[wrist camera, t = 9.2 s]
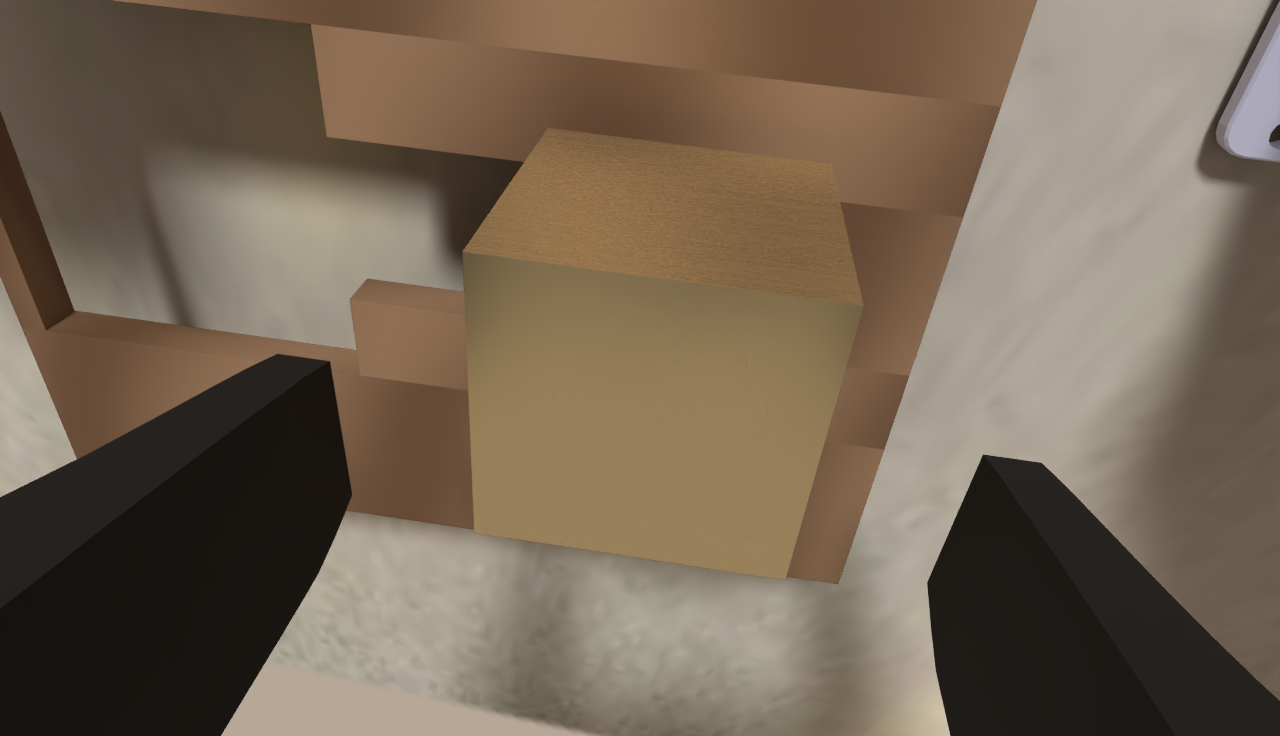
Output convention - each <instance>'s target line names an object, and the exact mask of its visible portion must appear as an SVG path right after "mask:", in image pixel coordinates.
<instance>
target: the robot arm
mask: <svg viewBox="0 0 1280 736" xmlns="http://www.w3.org/2000/svg"><path fill="white" fill-rule="evenodd" d="M1279 124H1280V1H1279V3H1278V5H1277V7H1276V9H1275V11H1274V13H1273V15H1272V17H1271V19H1270V21H1269V23H1268V25H1267V27H1266V29H1265V31H1264V33H1263V35H1262V37H1261V39H1260V41H1259V43H1258V45H1257V47H1256V49H1255V51H1254V53H1253V55H1252V57H1251V59H1250V61H1249V63H1248V65H1247V67H1246V69H1245V71H1244V73H1243V75H1242V77H1241V79H1240V81H1239V83H1238V85H1237V87H1236V89H1235V91H1234V93H1233V95H1232V97H1231V99H1230V101H1229V103H1228V105H1227V107H1226V109H1225V111H1224V113H1223V115H1222V117H1221V119H1220V121H1219V123H1218V126H1217V130H1216V138H1217V142H1218V144H1219V145H1220V146H1221V147H1222V148H1223V149H1224V150H1225V151H1227V152H1228V153H1230V154H1231V155H1234V156H1237V157H1240V158H1245V159H1253V160H1262V161H1270V162H1278V163H1280V139H1279V140H1277V141H1275V142H1269V138H1270V134H1271V132H1272V131H1273V130H1274V129H1275V128H1276V126H1278V125H1279ZM351 497H352V490H351V484H350V478H349V472H348V466H347V460H346V454H345V448H344V442H343V436H342V430H341V424H340V418H339V412H338V406H337V400H336V394H335V388H334V382H333V376H332V370H331V364H330V361H325V360H318V359H311V358H304V357H297V356H291V355H284V354H276V355H274V356H272V357H269V358H267V359H265V360H263V361H261V362H259V363H257V364H255V365H253V366H251V367H249V368H247V369H245V370H243V371H241V372H239V373H237V374H235V375H233V376H231V377H229V378H228V379H226V380H224V381H222V382H220V383H218V384H216V385H214V386H213V387H211V388H209V389H207V390H205V391H203V392H202V393H200V394H198V395H196V396H194V397H192V398H191V399H189V400H187V401H185V402H183V403H181V404H180V405H178V406H176V407H174V408H172V409H170V410H169V411H167V412H165V413H163V414H161V415H159V416H157V417H156V418H154V419H152V420H150V421H148V422H146V423H144V424H143V425H141V426H139V427H137V428H135V429H133V430H131V431H130V432H128V433H126V434H124V435H122V436H120V437H118V438H116V439H115V440H113V441H111V442H109V443H107V444H105V445H103V446H102V447H100V448H98V449H96V450H94V451H92V452H90V453H88V454H87V455H85V456H83V457H81V458H79V459H77V460H75V461H73V462H71V463H69V464H67V465H65V466H63V467H61V468H59V469H57V470H55V471H53V472H51V473H49V474H47V475H45V476H43V477H41V478H39V479H37V480H35V481H32V482H30V483H28V484H26V485H24V486H22V487H20V488H18V489H16V490H14V491H12V492H10V493H8V494H6V495H4V496H2V497H0V736H221V735H222V733H223V731H224V729H225V728H226V726H227V725H228V723H229V721H230V720H231V718H232V716H233V715H234V713H235V712H236V710H237V708H238V706H239V705H240V703H241V702H242V700H243V698H244V696H245V695H246V693H247V691H248V690H249V688H250V687H251V685H252V683H253V682H254V680H255V679H256V677H257V675H258V674H259V672H260V670H261V669H262V667H263V665H264V664H265V662H266V660H267V659H268V657H269V656H270V654H271V652H272V651H273V649H274V647H275V646H276V644H277V642H278V641H279V639H280V637H281V636H282V634H283V632H284V631H285V629H286V627H287V626H288V624H289V622H290V621H291V619H292V617H293V616H294V614H295V612H296V611H297V609H298V607H299V606H300V604H301V602H302V601H303V599H304V597H305V595H306V594H307V592H308V590H309V589H310V587H311V585H312V583H313V582H314V580H315V578H316V577H317V575H318V573H319V571H320V569H321V567H322V564H323V562H324V560H325V558H326V556H327V553H328V551H329V549H330V547H331V545H332V542H333V540H334V538H335V536H336V533H337V531H338V528H339V526H340V524H341V521H342V519H343V516H344V514H345V512H346V509H347V507H348V505H349V502H350V500H351ZM927 584H928V596H929V608H930V619H931V631H932V640H933V648H934V657H935V666H936V673H937V677H938V682H939V687H940V691H941V696H942V700H943V704H944V709H945V713H946V718H947V722H948V726H949V731H950V735H951V736H1280V701H1279V700H1278V699H1277V698H1276V697H1275V696H1274V695H1273V694H1271V693H1270V692H1269V691H1268V690H1267V689H1266V688H1265V687H1264V686H1263V685H1262V684H1261V683H1260V682H1259V681H1257V680H1256V679H1255V678H1254V677H1253V676H1252V675H1251V674H1250V673H1249V672H1248V671H1247V670H1246V669H1245V668H1244V667H1243V666H1242V665H1241V664H1240V663H1239V662H1238V661H1237V660H1236V659H1235V658H1234V657H1233V656H1232V655H1231V654H1229V653H1228V652H1227V651H1226V650H1225V649H1224V648H1223V647H1222V646H1221V645H1220V644H1219V643H1218V642H1217V641H1216V640H1215V639H1214V638H1213V637H1212V636H1211V635H1210V634H1209V633H1208V632H1207V631H1206V630H1205V629H1204V628H1203V627H1202V626H1201V625H1200V624H1199V623H1198V622H1197V621H1196V620H1195V619H1194V618H1193V617H1192V616H1191V615H1190V614H1189V613H1188V612H1187V611H1186V610H1185V609H1184V608H1183V607H1182V606H1181V605H1180V604H1179V603H1178V602H1177V601H1176V600H1175V599H1174V598H1173V597H1172V596H1171V595H1170V594H1169V593H1168V592H1167V591H1166V590H1165V589H1164V588H1163V587H1162V585H1161V584H1160V583H1159V582H1158V581H1157V580H1156V579H1155V578H1154V577H1153V576H1152V575H1151V574H1150V573H1149V572H1148V571H1147V570H1146V569H1145V568H1144V567H1143V566H1142V565H1141V564H1140V563H1139V562H1138V561H1137V560H1136V559H1135V558H1134V557H1133V555H1132V554H1131V553H1130V552H1129V551H1128V550H1127V549H1126V548H1125V547H1124V546H1123V545H1122V544H1121V543H1120V542H1119V541H1118V540H1117V539H1116V538H1115V537H1114V536H1113V535H1112V534H1111V533H1110V532H1109V530H1108V529H1107V528H1106V527H1105V526H1104V525H1103V524H1102V523H1101V522H1100V521H1099V520H1098V519H1097V518H1096V517H1095V516H1094V515H1093V514H1092V513H1091V512H1090V511H1089V510H1088V509H1087V508H1086V507H1085V506H1084V504H1083V503H1082V502H1081V501H1080V500H1079V499H1078V498H1077V497H1076V496H1075V495H1074V494H1073V493H1072V492H1071V491H1070V490H1069V489H1068V488H1067V487H1066V486H1065V485H1064V484H1063V483H1062V482H1061V481H1060V480H1059V479H1058V478H1057V477H1056V476H1055V475H1054V474H1053V473H1052V472H1051V471H1049V470H1048V469H1047V468H1046V467H1045V466H1044V465H1043V464H1042V463H1038V462H1031V461H1024V460H1017V459H1010V458H1003V457H996V456H989V455H983V456H982V458H981V461H980V463H979V465H978V468H977V470H976V472H975V475H974V477H973V479H972V481H971V484H970V486H969V488H968V491H967V493H966V495H965V497H964V500H963V502H962V504H961V507H960V509H959V511H958V513H957V516H956V518H955V520H954V523H953V525H952V527H951V530H950V532H949V534H948V536H947V539H946V541H945V543H944V546H943V548H942V550H941V552H940V555H939V557H938V559H937V562H936V564H935V566H934V568H933V571H932V573H931V575H930V578H929V580H928V582H927Z"/></svg>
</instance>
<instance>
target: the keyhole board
mask: <svg viewBox="0 0 1280 736" xmlns="http://www.w3.org/2000/svg"><path fill="white" fill-rule="evenodd" d="M113 1H121V2H130V3H138V4H147V5H155V6H163V7H172V8H180V9H188V10H197V11H205V12H214V13H222V14H230V15H239V16H247V17H256V18H264V19H272V20H281V21H289V22H297V23H306V24H311V29H312V36H313V43H314V51H315V58H316V65H317V72H318V79H319V86H320V93H321V100H322V107H323V114H324V121H325V128H326V136H327V137H331V138H339V139H347V140H355V141H363V142H371V143H379V144H386V145H394V146H402V147H410V148H418V149H426V150H434V151H442V152H450V153H458V154H466V155H473V156H481V157H489V158H497V159H505V160H513V161H521V162H525V160H526V159H527V157H528V156H529V154H530V153H531V152H532V150H533V149H534V147H535V146H536V144H537V143H538V141H539V140H540V139H541V137H542V136H543V134H544V133H545V131H546V130H547V128H553V129H560V130H568V131H576V132H584V133H592V134H600V135H608V136H615V137H623V138H631V139H639V140H647V141H655V142H663V143H671V144H678V145H686V146H694V147H702V148H710V149H718V150H726V151H733V152H741V153H749V154H757V155H765V156H773V157H781V158H788V159H796V160H804V161H812V162H820V163H828V164H831V165H832V169H833V173H834V178H835V182H836V186H837V191H838V195H839V200H840V204H841V208H842V213H843V217H844V222H845V226H846V230H847V235H848V239H849V243H850V248H851V252H852V257H853V261H854V265H855V270H856V274H857V279H858V283H859V287H860V292H861V296H862V300H863V305H864V307H863V310H862V314H861V317H860V321H859V324H858V328H857V331H856V335H855V338H854V342H853V345H852V349H851V352H850V356H849V359H848V363H847V366H846V370H845V373H844V377H843V380H842V384H841V387H840V391H839V394H838V398H837V401H836V405H835V408H834V412H833V415H832V419H831V422H830V426H829V429H828V433H827V436H826V440H825V443H824V447H823V450H822V454H821V457H820V461H819V464H818V468H817V471H816V475H815V478H814V481H813V485H812V488H811V492H810V495H809V499H808V502H807V506H806V509H805V513H804V516H803V520H802V523H801V527H800V530H799V534H798V537H797V541H796V544H795V548H794V551H793V555H792V558H791V562H790V565H789V569H788V572H787V577H793V578H800V579H807V580H813V581H820V582H827V583H833V584H839V581H840V578H841V575H842V572H843V569H844V566H845V563H846V560H847V557H848V554H849V551H850V548H851V545H852V543H853V540H854V537H855V534H856V531H857V528H858V525H859V522H860V519H861V516H862V513H863V510H864V507H865V504H866V501H867V498H868V496H869V493H870V490H871V487H872V484H873V481H874V478H875V475H876V472H877V469H878V466H879V463H880V460H881V457H882V454H883V451H884V449H885V446H886V443H887V440H888V437H889V434H890V431H891V428H892V425H893V422H894V419H895V416H896V413H897V410H898V407H899V404H900V402H901V399H902V396H903V393H904V390H905V387H906V384H907V381H908V378H909V375H910V372H911V369H912V366H913V363H914V360H915V357H916V355H917V352H918V349H919V346H920V343H921V340H922V337H923V334H924V331H925V328H926V325H927V322H928V319H929V316H930V313H931V310H932V308H933V305H934V302H935V299H936V296H937V293H938V290H939V287H940V284H941V281H942V278H943V275H944V272H945V269H946V266H947V263H948V261H949V258H950V255H951V252H952V249H953V246H954V243H955V240H956V237H957V234H958V231H959V228H960V225H961V222H962V219H963V216H964V214H965V211H966V208H967V205H968V202H969V199H970V196H971V193H972V190H973V187H974V184H975V181H976V178H977V175H978V172H979V169H980V167H981V164H982V161H983V158H984V155H985V152H986V149H987V146H988V143H989V140H990V137H991V134H992V131H993V128H994V125H995V122H996V120H997V117H998V114H999V111H1000V108H1001V105H1002V102H1003V99H1004V96H1005V93H1006V90H1007V87H1008V84H1009V81H1010V78H1011V75H1012V73H1013V70H1014V67H1015V64H1016V61H1017V58H1018V55H1019V52H1020V49H1021V46H1022V43H1023V40H1024V37H1025V34H1026V31H1027V28H1028V26H1029V23H1030V20H1031V17H1032V14H1033V11H1034V8H1035V5H1036V2H1037V0H113ZM0 277H1V279H2V281H3V284H4V286H5V289H6V291H7V293H8V296H9V298H10V301H11V303H12V305H13V308H14V310H15V312H16V315H17V317H18V320H19V322H20V324H21V327H22V329H23V331H24V334H25V336H26V339H27V341H28V343H29V346H30V348H31V350H32V353H33V355H34V358H35V360H36V362H37V365H38V367H39V370H40V372H41V374H42V377H43V379H44V381H45V384H46V386H47V389H48V391H49V393H50V396H51V398H52V400H53V403H54V405H55V408H56V410H57V412H58V415H59V417H60V419H61V422H62V424H63V427H64V429H65V431H66V434H67V436H68V438H69V441H70V443H71V446H72V448H73V450H74V453H75V455H76V458H77V459H79V458H81V457H83V456H85V455H87V454H88V453H90V452H92V451H94V450H96V449H98V448H100V447H102V446H103V445H105V444H107V443H109V442H111V441H113V440H115V439H116V438H118V437H120V436H122V435H124V434H126V433H128V432H130V431H131V430H133V429H135V428H137V427H139V426H141V425H143V424H144V423H146V422H148V421H150V420H152V419H154V418H156V417H157V416H159V415H161V414H163V413H165V412H167V411H169V410H170V409H172V408H174V407H176V406H178V405H180V404H181V403H183V402H185V401H187V400H189V399H191V398H192V397H194V396H196V395H198V394H200V393H202V392H203V391H205V390H207V389H209V388H211V387H213V386H214V385H216V384H218V383H220V382H222V381H224V380H226V379H228V378H229V377H231V376H233V375H235V374H237V373H239V372H241V371H243V370H245V369H247V368H249V367H251V366H253V365H255V364H257V363H259V362H261V361H263V360H265V359H267V358H269V357H272V356H274V355H276V354H284V355H291V356H297V357H304V358H311V359H318V360H325V361H330V364H331V370H332V376H333V382H334V388H335V394H336V400H337V406H338V412H339V418H340V424H341V430H342V436H343V442H344V448H345V454H346V460H347V466H348V472H349V478H350V484H351V490H352V497H351V500H350V502H349V505H348V507H347V509H346V510H348V511H355V512H361V513H368V514H375V515H381V516H388V517H395V518H401V519H408V520H415V521H421V522H428V523H434V524H441V525H448V526H454V527H461V528H468V529H474V513H473V490H472V466H471V442H470V419H469V395H468V372H467V348H466V324H465V301H464V292H461V291H454V290H446V289H439V288H432V287H424V286H417V285H410V284H402V283H395V282H387V281H380V280H373V279H367V280H366V281H365V282H364V283H363V284H362V285H361V287H360V288H359V289H358V290H357V291H356V292H355V294H354V295H353V296H352V297H351V298H350V306H351V313H352V320H353V327H354V334H355V341H356V348H357V350H351V349H344V348H337V347H330V346H323V345H316V344H309V343H301V342H294V341H287V340H280V339H273V338H266V337H259V336H251V335H244V334H237V333H230V332H223V331H216V330H209V329H201V328H194V327H187V326H180V325H173V324H166V323H159V322H151V321H144V320H137V319H130V318H123V317H116V316H109V315H101V314H94V313H87V312H80V311H74V309H73V306H72V303H71V301H70V298H69V295H68V293H67V290H66V287H65V284H64V282H63V279H62V276H61V274H60V271H59V268H58V266H57V263H56V260H55V257H54V255H53V252H52V249H51V247H50V244H49V241H48V239H47V236H46V233H45V231H44V228H43V225H42V222H41V220H40V217H39V214H38V212H37V209H36V206H35V204H34V201H33V198H32V195H31V193H30V190H29V187H28V185H27V182H26V179H25V177H24V174H23V171H22V169H21V166H20V163H19V160H18V158H17V155H16V152H15V150H14V147H13V144H12V142H11V139H10V136H9V133H8V131H7V128H6V125H5V123H4V120H3V117H2V115H1V112H0Z"/></svg>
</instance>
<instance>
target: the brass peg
mask: <svg viewBox="0 0 1280 736" xmlns="http://www.w3.org/2000/svg"><path fill="white" fill-rule="evenodd" d="M462 254H463V277H464V301H465V324H466V348H467V372H468V395H469V419H470V442H471V466H472V490H473V513H474V533H480V534H487V535H493V536H500V537H506V538H513V539H519V540H526V541H533V542H539V543H546V544H552V545H559V546H565V547H572V548H578V549H585V550H591V551H598V552H605V553H611V554H618V555H624V556H631V557H637V558H644V559H650V560H657V561H664V562H670V563H677V564H683V565H690V566H696V567H703V568H709V569H716V570H723V571H729V572H736V573H742V574H749V575H755V576H762V577H768V578H775V579H782V580H785V579H786V576H787V572H788V569H789V565H790V562H791V558H792V555H793V551H794V548H795V544H796V541H797V537H798V534H799V530H800V527H801V523H802V520H803V516H804V513H805V509H806V506H807V502H808V499H809V495H810V492H811V488H812V485H813V481H814V478H815V475H816V471H817V468H818V464H819V461H820V457H821V454H822V450H823V447H824V443H825V440H826V436H827V433H828V429H829V426H830V422H831V419H832V415H833V412H834V408H835V405H836V401H837V398H838V394H839V391H840V387H841V384H842V380H843V377H844V373H845V370H846V366H847V363H848V359H849V356H850V352H851V349H852V345H853V342H854V338H855V335H856V331H857V328H858V324H859V321H860V317H861V314H862V310H863V307H864V305H863V300H862V296H861V292H860V287H859V283H858V279H857V274H856V270H855V265H854V261H853V257H852V252H851V248H850V243H849V239H848V235H847V230H846V226H845V222H844V217H843V213H842V208H841V204H840V200H839V195H838V191H837V186H836V182H835V178H834V173H833V169H832V165H831V164H828V163H820V162H812V161H804V160H796V159H788V158H781V157H773V156H765V155H757V154H749V153H741V152H733V151H726V150H718V149H710V148H702V147H694V146H686V145H678V144H671V143H663V142H655V141H647V140H639V139H631V138H623V137H615V136H608V135H600V134H592V133H584V132H576V131H568V130H560V129H553V128H547V130H546V131H545V133H544V134H543V136H542V137H541V139H540V140H539V141H538V143H537V144H536V146H535V147H534V149H533V150H532V152H531V153H530V154H529V156H528V157H527V159H526V160H525V162H524V163H523V165H522V166H521V167H520V169H519V170H518V172H517V173H516V175H515V176H514V178H513V179H512V181H511V182H510V183H509V185H508V186H507V188H506V189H505V191H504V192H503V194H502V195H501V196H500V198H499V199H498V201H497V202H496V204H495V205H494V207H493V208H492V209H491V211H490V212H489V214H488V215H487V217H486V218H485V220H484V221H483V223H482V224H481V225H480V227H479V228H478V230H477V231H476V233H475V234H474V236H473V237H472V238H471V240H470V241H469V243H468V244H467V246H466V247H465V249H464V250H463V252H462Z"/></svg>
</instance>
